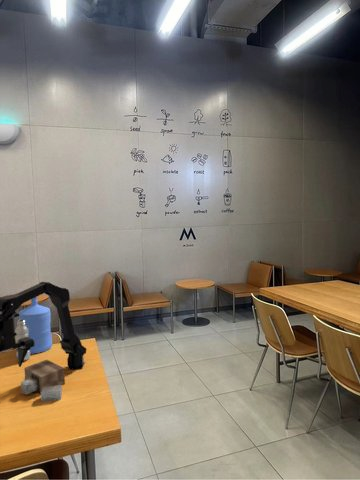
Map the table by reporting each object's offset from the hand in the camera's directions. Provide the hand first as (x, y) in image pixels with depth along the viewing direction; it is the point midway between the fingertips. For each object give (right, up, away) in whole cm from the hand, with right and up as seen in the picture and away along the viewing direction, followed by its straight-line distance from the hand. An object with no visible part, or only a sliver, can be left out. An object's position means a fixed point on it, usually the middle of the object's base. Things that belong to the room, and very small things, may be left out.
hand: (8, 370), depth 127 cm
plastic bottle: (-12, -10, +38) cm, 42 cm away
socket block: (+8, -11, +14) cm, 19 cm away
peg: (+6, -11, +7) cm, 14 cm away
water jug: (-12, -9, +53) cm, 55 cm away
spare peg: (+16, -12, +2) cm, 20 cm away
